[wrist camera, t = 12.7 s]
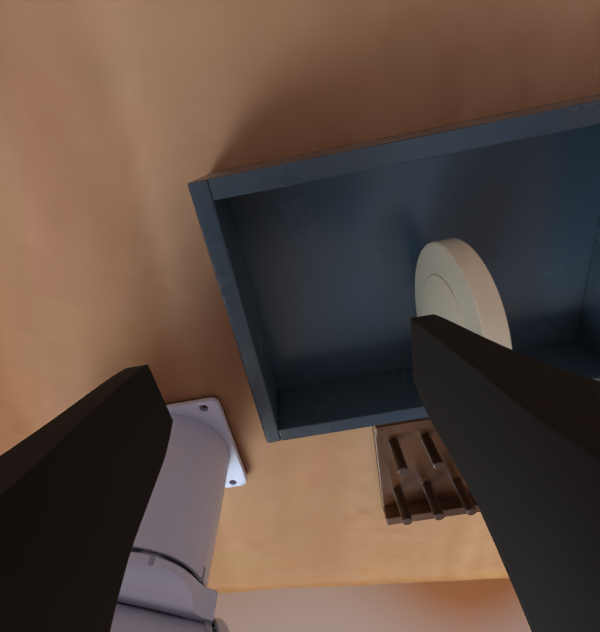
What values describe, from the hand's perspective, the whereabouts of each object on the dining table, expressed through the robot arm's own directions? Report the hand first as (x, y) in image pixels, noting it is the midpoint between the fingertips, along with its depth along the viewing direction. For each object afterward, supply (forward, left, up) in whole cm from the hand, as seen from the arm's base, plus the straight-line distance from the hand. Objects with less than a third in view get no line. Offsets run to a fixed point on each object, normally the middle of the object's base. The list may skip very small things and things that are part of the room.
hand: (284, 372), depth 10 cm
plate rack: (+8, -17, -10) cm, 21 cm away
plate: (+7, -2, -10) cm, 12 cm away
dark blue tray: (+7, -2, -10) cm, 13 cm away
